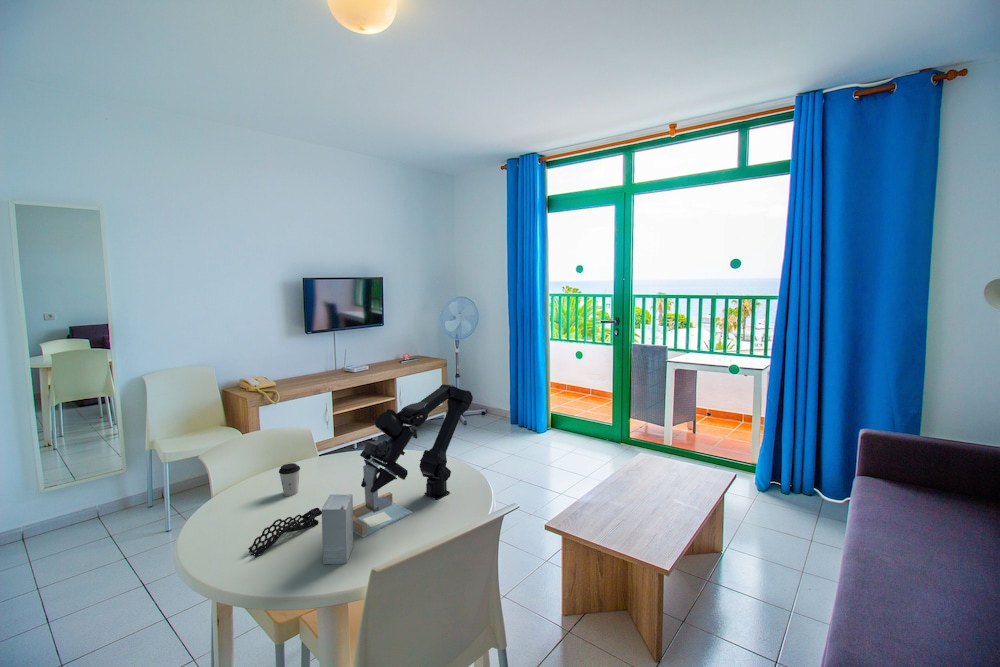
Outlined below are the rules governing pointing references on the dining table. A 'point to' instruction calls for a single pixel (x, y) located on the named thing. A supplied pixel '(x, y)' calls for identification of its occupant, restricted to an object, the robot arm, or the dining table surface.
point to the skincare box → (337, 529)
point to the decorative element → (285, 530)
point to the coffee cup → (289, 478)
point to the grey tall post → (372, 498)
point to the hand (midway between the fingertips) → (366, 489)
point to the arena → (376, 517)
